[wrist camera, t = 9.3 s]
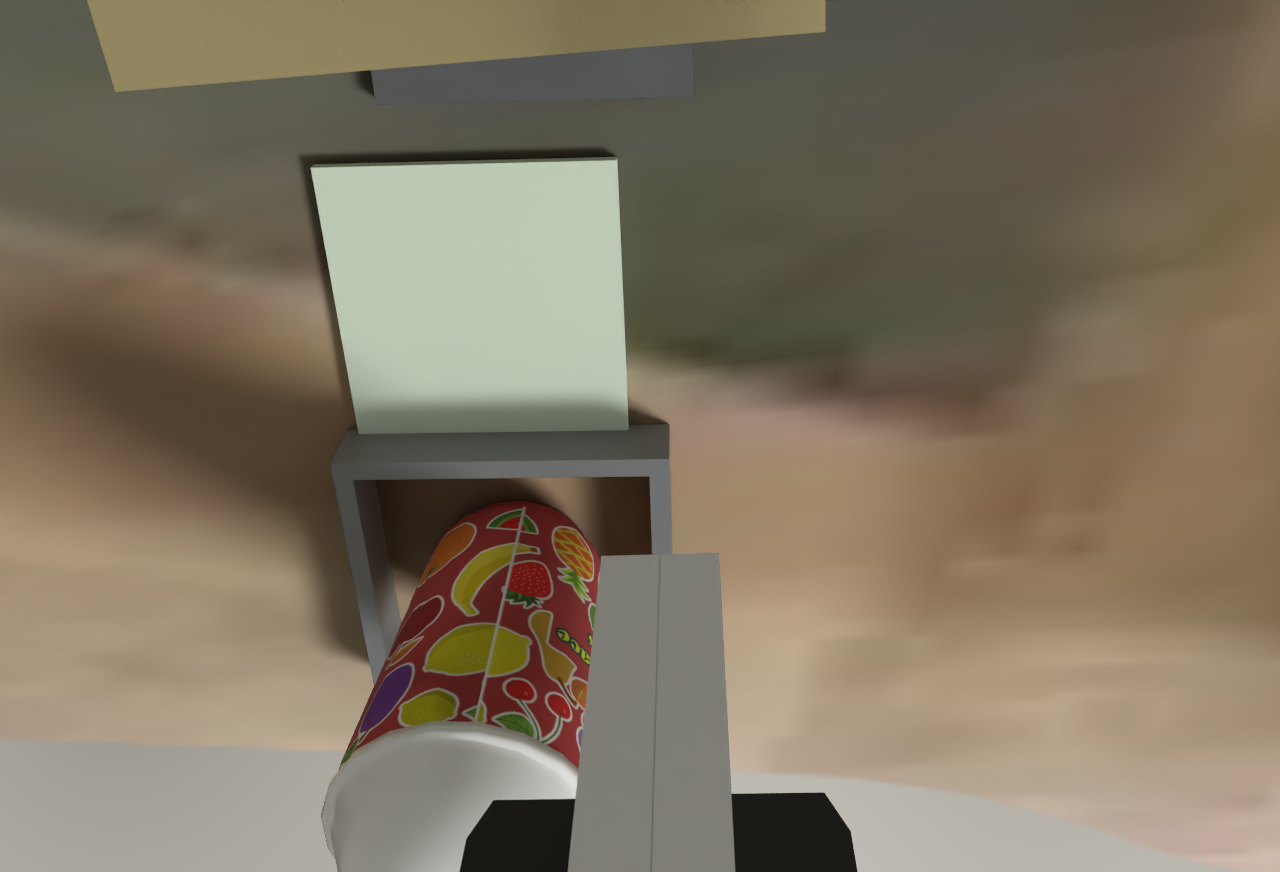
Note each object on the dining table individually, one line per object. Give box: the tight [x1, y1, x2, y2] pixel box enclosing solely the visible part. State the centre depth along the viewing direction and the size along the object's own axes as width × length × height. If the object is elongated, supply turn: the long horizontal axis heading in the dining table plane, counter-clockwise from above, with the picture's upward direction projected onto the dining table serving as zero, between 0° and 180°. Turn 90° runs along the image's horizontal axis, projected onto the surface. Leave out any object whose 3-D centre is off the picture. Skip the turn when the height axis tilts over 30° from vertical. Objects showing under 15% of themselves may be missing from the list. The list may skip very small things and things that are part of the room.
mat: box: [311, 157, 629, 434], centre depth 39 cm, size 10×10×1 cm
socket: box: [330, 424, 672, 686], centre depth 44 cm, size 12×12×2 cm
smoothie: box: [321, 501, 601, 872], centre depth 36 cm, size 8×8×20 cm
